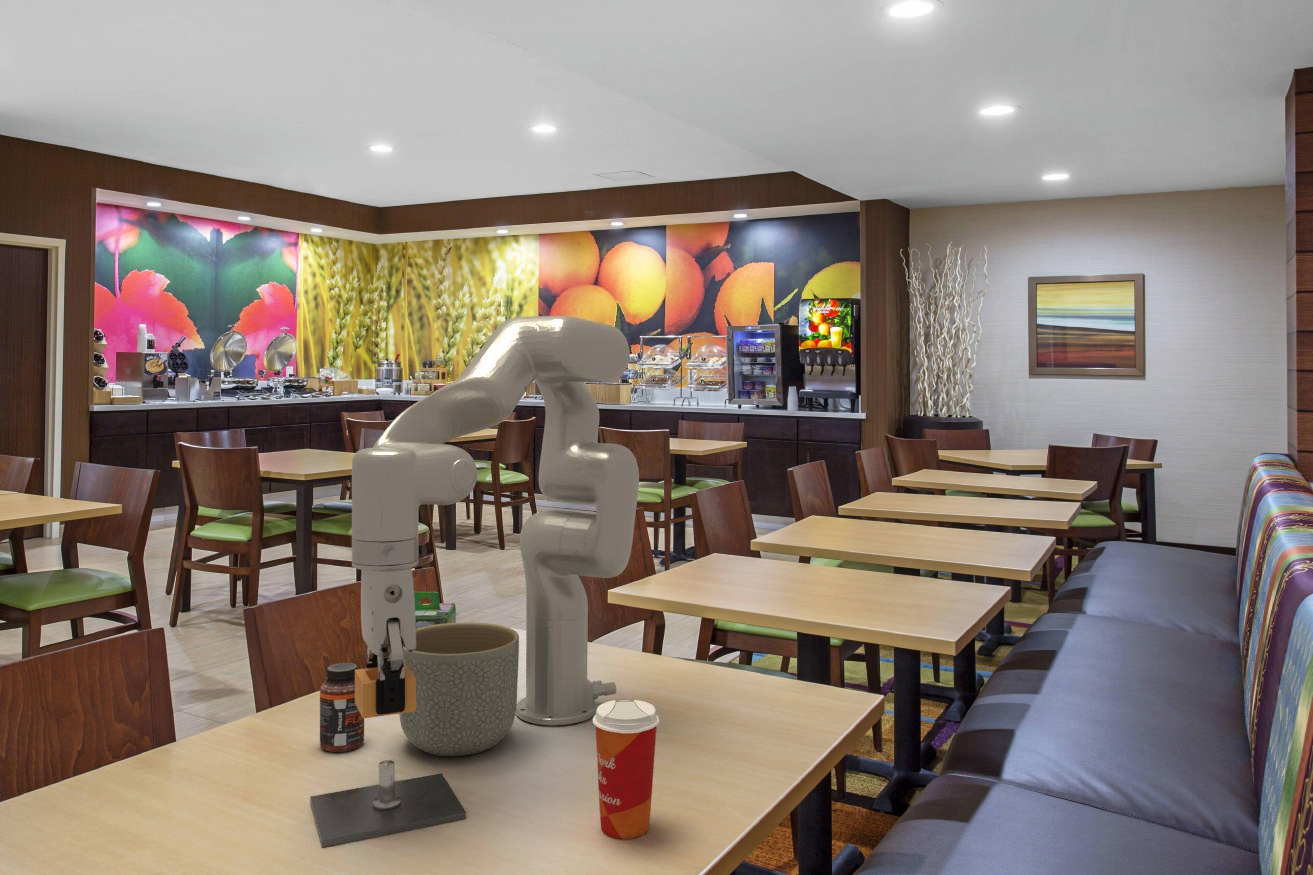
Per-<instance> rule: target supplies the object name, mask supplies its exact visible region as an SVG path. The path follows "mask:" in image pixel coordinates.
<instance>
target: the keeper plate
mask: <svg viewBox="0 0 1313 875" xmlns="http://www.w3.org/2000/svg"><path fill="white" fill-rule="evenodd" d="M395 767H396V766H395V761H394V760H390V759H387V760H381V761H380V762H378V784H372V785H368V786H363V787H357V788H351V789H345V790H341V791H334V792H328V793H323V794H322V793H321V794H317V795H311V796H309V797H310V798H309V801H310V803H309V804H310V806H311V810H312V813H313V814H312V815H313V818H314V822H315V825H316V829H317V833H318V837H319V840H320V843H321V848H326V847H332V846H338V845H341V844H342V845H343V844H347V843H352V842H356V841H362V840H367V839H371V838H375V837H376V838H377V837H382V836H387V835H391V834H397V833H402V832H405V831H412V830H417V829H421V828H427V827H431V826H436V825H442V824H446V823H452V822H456V821H460V820H461V821H462V820H465V819H467V812H466V810H465V808H464V807H463V805H462V804H461V802H460V800H459V799H458V797H457V795H456V794H455V792H454V790H453V789H452V787H451V786H450V784H449V782H448V781H447V779H446V777H445V776H444V774H443V773H442V772H440V773H436V774H429V775H425V776H420V777H413V778H408V779H402V780H396V779H395V777H396V776H395V774H396V773H395V772H396V771H395ZM395 780H396V781H395Z"/></svg>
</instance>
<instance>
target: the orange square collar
mask: <svg viewBox="0 0 1313 875" xmlns="http://www.w3.org/2000/svg"><path fill="white" fill-rule="evenodd" d="M384 668H385V666H384ZM404 671H405V710H404V711H403V712H397V713H389V714H382V715H378V714H377V712H376V679H379V675H378V667H376V668H366V667H365V668H359V669H358V668H357V670H355V704H356V706H357V708H358V710H359V712H360V714H361V716H362V718H363V719H364V720H365V719H370V718H377V717H385V716H390V715H399V714H400V713H407V712H415V711H416V677H415V676H414V674H413V673H412V672H411V670H410V669H409V668H408V666H407V665H406V664H404Z"/></svg>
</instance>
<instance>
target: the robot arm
mask: <svg viewBox="0 0 1313 875" xmlns="http://www.w3.org/2000/svg"><path fill="white" fill-rule="evenodd" d="M630 356H631V355H630V346H629V343H628V341H627V338H626V336H625V334H624V333H623V332H622V331H621V330H620V329H619V328H618V327H616V326H613V325H611V324H606V323H601V322H598V321H597V322H596V321H592V320H587V319H584V318H580V317H579V318H578V317H575V316H574V317H573V316H570V315H569V316H568V315H541V316H534V315H533V316H518V317H512V318H508V319H507V320H505V321H503V322H502V323H500V324H499V325H498V326H497V327H496V328H495V330H494V331H493V332H492V333H491V335H490V336H489V338H488V339H487V340H486V342H485V343H484V344H483V346H482V347H480V350H478V353H477V354H476V355H475V356H474V358H473V359H472V360H471V361H470V363H469V364H467V366H466V368H464V370H463V372H461V374H460V375H459V377H457V378H456V379H455V380H454V381H452V382H450V383H448V384H446V385H444V386H442V387H441V388H439V389H437V390H435V391H434V392H432V393H430V394H429V395H427V396H425V397H424V398H422V399H420V400H418V401H417V402H415V403H413V404H412V405H410V406H409V407H407V408H406V409H404V410H403V411H402V412H401V413H400V414H398V416H396V417H395V419H393V421H391V422H390V424H389V425H388V426H387V427H386V429H385V430H384V431H383V433H382V434H381V435H380V436H379V438H378V439H377V440H376V442H375V443H374V445H373V447H367V448H363V449H359V450H358V451H356V452H355V454H354V455H353V457H352V460H351V461H352V462H351V567H352V568H353V569H357V570H360V571H361V575H360V580H361V581H360V583H361V584H360V623H361V636H362V638H363V641H364V643H365V644H366V645H367V651H366V662H367V663H365V665H366V666H365V668H376V667H378V675H379V679H376V712H377V714H378V715H382V714H389V713H397V712H403V711H404V710H405V671H404V657H403V645H404V647H405V648H406V649H407V650H408V651H409V652H413V651H414V650H415V649H416V621H415V597H414V592H415V587H414V576H413V569H412V568H413V567H417V566H418V565H419V507H420V506H422V505H436V506H437V505H438V506H449V505H453V504H457V503H459V502H461V501H463V500H464V499H466V498H467V497H468V496H469V495H470V494H471V493H472V492H473V490H474V488H475V485H476V484H477V480H478V469H477V465H476V462H475V460H474V458H473V457H472V455H470V454H469V452H468V451H466V449H465V450H464V449H463V448H461V447H458V446H455V445H451V444H445V443H447V442H449V441H452V440H454V439H456V438H459V437H462V436H466V435H467V436H468V435H470V434H474V433H477V432H480V431H484V430H486V429H489V428H492V427H494V426H497V425H499V424H501V423H504V421H506V420H507V419H508V418H509V417H510V416H511V415H512V412H513V411H514V410H515V408H516V407H517V405H518V404H519V402H520V400H521V399H522V398H523V396H524V395H525V394H526V393H527V390H529V388H530V386H531V385H532V383H533V382H535V384H536V385H537V387H538V390H539V391H540V394H541V397H542V399H543V403H544V410H545V418H544V419H545V420H544V427H543V428H544V431H543V435H542V436H543V437H542V445H541V453H540V461H539V466H538V467H539V468H538V469H539V470H538V486H539V487H538V488H539V490H540V492H541V494H542V495H543V496H544V497H546V498H547V499H549V500H552V501H556V502H561V503H562V502H563V503H572V504H581V505H582V504H585V505H593V506H594V505H595V507H596V508H595V509H596V510H595V513H592V512H581V511H572V510H559V509H558V510H557V509H556V510H555V509H550V510H542V511H538V512H536V513H534V514H532V515H531V516H529V517H528V518H527V519H526V520H525V521H524V523H523V525H522V527H521V530H520V535H519V550H520V556H521V561H522V564H523V570H524V579H525V580H524V581H525V593H526V594H525V598H526V601H525V602H526V605H525V606H526V607H525V608H526V619H525V620H526V624H525V625H526V626H525V628H526V629H525V630H526V633H525V635H526V638H525V639H526V642H525V643H526V645H525V646H526V648H525V650H526V652H525V654H526V656H525V658H526V660H525V661H526V662H525V664H526V665H525V666H526V668H525V671H526V672H525V677H526V678H525V679H526V680H525V688H526V689H525V697H523V698H522V699H520V700H519V701H517V705H516V714H515V715H517V717H518V718H519V719H521V720H522V721H525V722H527V723H530V724H534V725H535V724H536V725H542V726H566V725H572V724H573V725H574V724H578V723H581V722H585V721H587V720H590V718H593V717H594V716H595V715H596V710H597V708H598V703H597V702H596V700H597V699H598V698H599V697H602V696H605V697H607V696H612V695H613V696H614V695H616V694H617V685H616V683H615V681H612V682H605V683H603V681H602V680H601V679H600V680H595V681H590V680H589V679H588V642H589V641H588V635H589V634H588V624H589V623H588V622H589V621H588V618H589V616H588V615H589V604H588V602H589V601H588V596H587V592H586V590H585V587H584V585H583V583H582V580H581V579H580V576H581V577H582V576H583V577H592V578H599V579H600V578H603V579H610V578H615V577H618V576H620V575H621V574H622V573H623V572H624V571H625V569H626V568H627V566H628V564H629V560H630V558H631V553H632V547H633V539H634V532H635V524H636V523H635V522H636V513H637V504H638V496H639V486H640V473H639V472H640V471H639V466H638V462H637V458H636V456H635V455H634V453H633V452H632V451H631V450H630V449H629V448H628V447H626V446H624V445H622V444H617V443H608V442H605V443H603V442H598V440H599V439H598V438H599V426H600V410H599V406H598V404H597V402H596V400H595V397H594V396H593V394H592V393H591V391H590V389H588V387H587V385H586V384H585V383H609V382H610V383H612V382H614V381H616V380H618V379H620V378H621V377H622V376H623V375H624V374H625V372H626V370H627V368H628V365H629V363H630ZM384 666H385V668H384Z"/></svg>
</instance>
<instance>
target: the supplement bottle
mask: <svg viewBox="0 0 1313 875" xmlns="http://www.w3.org/2000/svg"><path fill="white" fill-rule="evenodd" d="M326 669H327V670H326V672H327V673H326V676H327V679H325V681H324V682H322V684H321V686H320V688H319V689H320V690H319V746H320V748H321V749H323V750H325V751H326V752H333V753H345V752H348V751H353V750H355V749H358V748H359V747H361V746H362V745H363V744H364V741H365V718H364V719H363V718H362V716H361V714H360V712H359V710H358V708H357V706H356V704H355V670H357V669H358V665H357V664H356V663H351V662H341V663H335V664H331V665H329V666H328V667H327V668H326Z"/></svg>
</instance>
